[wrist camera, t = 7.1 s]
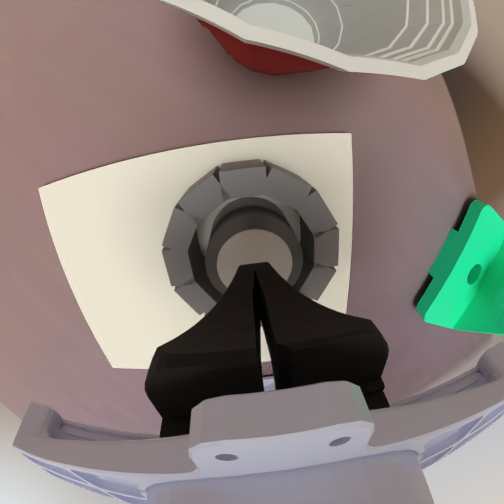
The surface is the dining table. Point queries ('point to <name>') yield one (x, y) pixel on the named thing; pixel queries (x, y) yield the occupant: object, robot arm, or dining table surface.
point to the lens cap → (251, 241)
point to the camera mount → (469, 276)
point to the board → (138, 223)
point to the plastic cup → (341, 34)
